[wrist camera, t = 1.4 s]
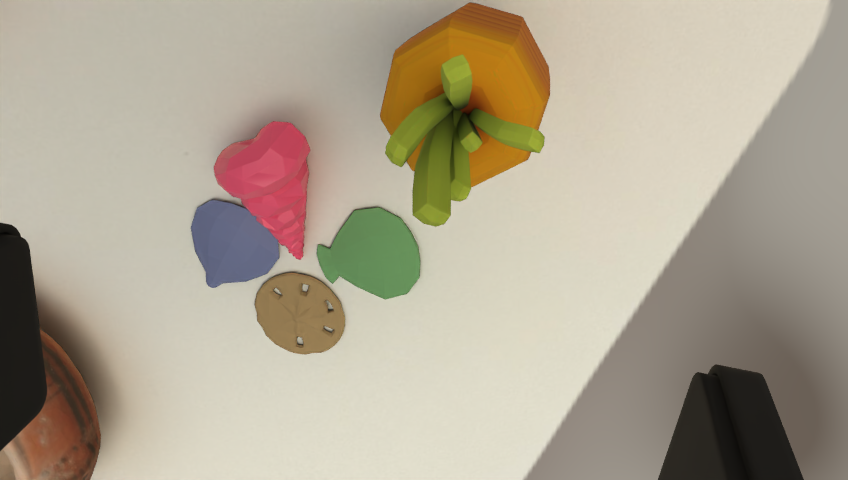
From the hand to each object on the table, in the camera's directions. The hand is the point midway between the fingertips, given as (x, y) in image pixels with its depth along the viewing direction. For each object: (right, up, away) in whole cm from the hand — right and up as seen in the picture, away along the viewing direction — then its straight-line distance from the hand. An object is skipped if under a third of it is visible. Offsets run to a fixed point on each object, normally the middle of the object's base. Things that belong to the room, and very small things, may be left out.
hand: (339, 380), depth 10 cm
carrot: (+4, +10, +20) cm, 23 cm away
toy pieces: (-5, +2, +26) cm, 27 cm away
